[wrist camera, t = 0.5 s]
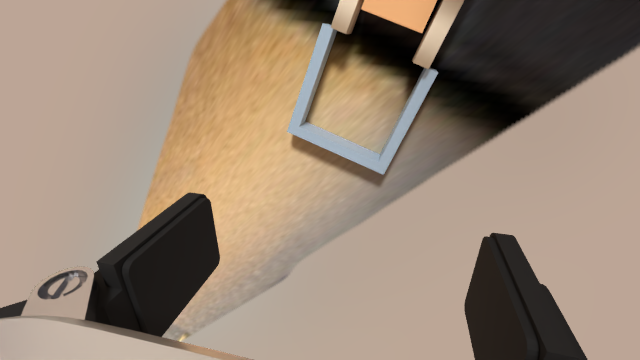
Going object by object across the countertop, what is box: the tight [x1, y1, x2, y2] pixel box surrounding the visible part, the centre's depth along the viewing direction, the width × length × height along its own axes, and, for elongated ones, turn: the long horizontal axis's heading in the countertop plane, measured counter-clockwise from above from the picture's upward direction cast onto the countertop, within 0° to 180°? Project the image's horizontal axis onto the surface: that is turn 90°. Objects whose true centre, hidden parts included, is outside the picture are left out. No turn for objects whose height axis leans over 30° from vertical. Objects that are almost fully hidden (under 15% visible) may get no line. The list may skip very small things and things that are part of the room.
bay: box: [287, 24, 438, 175], centre depth 35 cm, size 12×12×2 cm
